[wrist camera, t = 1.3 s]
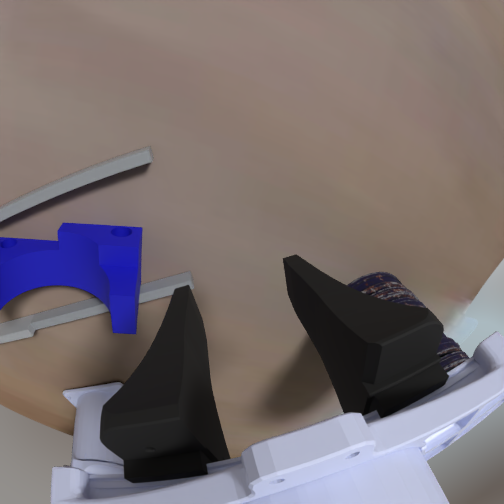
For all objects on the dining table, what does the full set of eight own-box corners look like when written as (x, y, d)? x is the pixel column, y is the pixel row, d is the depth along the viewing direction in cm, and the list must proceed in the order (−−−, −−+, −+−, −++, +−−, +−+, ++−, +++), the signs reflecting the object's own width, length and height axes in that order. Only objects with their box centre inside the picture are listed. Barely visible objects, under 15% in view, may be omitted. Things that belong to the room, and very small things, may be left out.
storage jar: (356, 353, 34) (415, 455, 22) (301, 330, 30) (366, 464, 17) (415, 292, 31) (496, 387, 19) (372, 254, 27) (479, 374, 14)
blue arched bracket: (142, 226, 21) (134, 274, 16) (141, 279, 23) (136, 334, 18) (-2, 218, 17) (-40, 259, 12) (7, 268, 20) (-22, 316, 14)
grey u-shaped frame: (193, 279, 24) (195, 295, 22) (-46, 342, 21) (-52, 354, 19) (150, 145, 18) (147, 152, 16) (-94, 265, 15) (-104, 276, 14)
